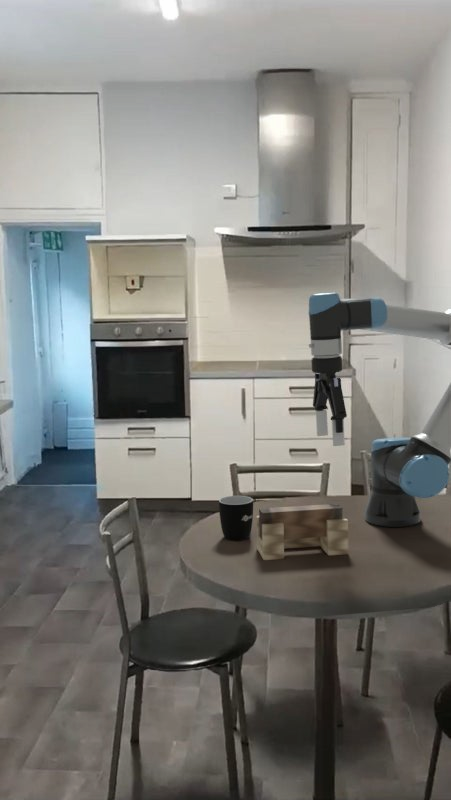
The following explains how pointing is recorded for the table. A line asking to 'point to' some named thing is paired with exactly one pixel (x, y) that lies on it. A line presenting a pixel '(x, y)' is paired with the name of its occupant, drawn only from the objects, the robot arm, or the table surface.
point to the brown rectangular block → (301, 519)
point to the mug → (236, 517)
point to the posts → (301, 539)
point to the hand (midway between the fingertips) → (330, 440)
